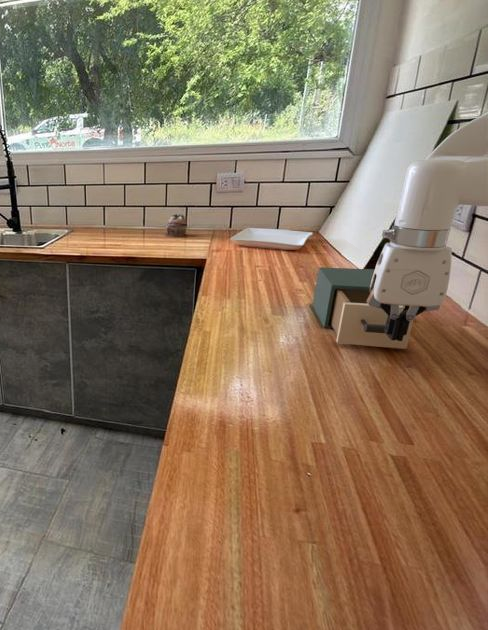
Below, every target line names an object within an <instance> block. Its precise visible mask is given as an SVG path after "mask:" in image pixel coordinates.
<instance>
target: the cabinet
mask: <svg viewBox="0 0 488 630" xmlns="http://www.w3.org/2000/svg"><path fill="white" fill-rule="evenodd" d="M374 270H375V268H374V269H373V268H347V267H326V266H325V267H323V266H322V267H321V266H319V267H318V270H317V275H316V280H315V286H314V293H313V298H312V305H311V306H312V308H313V309H314V312H315V313H316V316H317V317H318V319H319V321H320V323H321V325H322V326H323V328H325V329H334V328H333V327H332V325H331V323H330V321H329V319H330V314H331V308H332V303H333V298H334V292H335V289H352V290H370V285H371V280H372V277H373V273H374Z"/></svg>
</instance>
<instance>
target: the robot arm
mask: <svg viewBox="0 0 488 630" xmlns="http://www.w3.org/2000/svg"><path fill="white" fill-rule="evenodd" d="M486 155H488V111H486V112H485V113H483V114H482V115H479V116H478V117H476V118H474V119H472V120H471V121H469V122H467V123H465V124H464V125H462V126H461V127H459V128H457V129H456V130H455V131H453V132H452V133H451V134H449V135H448V136H447V137H445V138H444V139H443V140H442V141H441V142H440V143H439V144H438V145H437V146H436V147H435V149H433V150H432V151H431V152H430V153H429V155H427V157H426V158H425V159H420V160H415V161H413V162H412V163H410V164H409V165H408V167H407V169H406V172H405V175H404V180H403V185H402V189H401V194H400V198H399V202H398V207H397V211H396V215H395V219H394V225H392V227H391V229H390V228H389V229H383V231H382V233H381V236H382V238H383V239H388V240H389V242H386V243H385V244H384V246H383V248H382V250H381V252H380V254H379V257H378V259H377V262H376V264H375V268H374V269H375V270H374V273H373V277H372V280H371V285H370V295H369V297H368V299H367V303H368V304H369V305H370V306H373V307H377V308H381V309H383V310H384V311H385V312H386V314H387V315H388V316H387V321H386V325H385V329H384V332H385V333H386V335H387V336H388V337H389V338H390V340H393V341H395V340H398V341H402V340H403V336H404V335H406V334H407V331H408V327H409V323H410V321H412V320H413V319H414V320H415V318H416V317H417V316H419V315H420V314H422V313H424V312H432V311H433V312H434V311H439V310H440V309H441V305H443V304H444V302H445V300H446V297H447V293H448V287H449V283H450V278H451V277H450V276H451V270H452V257H453V256H452V255H453V254H452V253H453V249H452V248H451V247H449V246H448V245H447V244H448V240H449V236H450V232H451V229H452V226H453V222H454V218H455V215H456V210H457V207H458V206H460V205H463V206H473V207H488V156H486ZM399 305H404V306H403V308H402V310H401V313H400V315H399Z"/></svg>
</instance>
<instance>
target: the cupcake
mask: <svg viewBox="0 0 488 630" xmlns="http://www.w3.org/2000/svg"><path fill="white" fill-rule="evenodd" d="M165 226H166V228H165V229H166V235H167V237H171V238H182V237H185V236H186V232H187V228H188V220H187V219H186V216H185V215H184V214H179V215H178V214H177V213H175V214H172V215H171V217H170V219H168V221H167V223H166V224H165Z"/></svg>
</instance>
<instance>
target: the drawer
mask: <svg viewBox="0 0 488 630" xmlns="http://www.w3.org/2000/svg"><path fill="white" fill-rule="evenodd" d="M369 295H370V290H352V289H335V292H334V298H333V303H332V308H331V314H330V319H329V321H330V323H331V325H332V327H333V328H332V329H333V330H334V332H335V334H336V340H335V341H336V344H341V345H354V346H367V347H378V348H390V349H401V350H407V348H408V344H409V340H410V336H411V332H412V329H413V325H414V320H415V318H414V319H413V320H412V321H410V323H409V327H408V331H407V334H406V335H404V336H403V340H402V341H398V340H395V341H393V340H390V338H389V337H388V336H387V335H386V333H385V332H384V329H385V325H386V321H387V316H388V315H387V314H386V312H385V311H384V310H383V309H381V308H377V307H373V306H370V305H369V304H368V303H367V299H368V297H369ZM403 306H404V305H399V315H400V313H401V310H402V308H403Z"/></svg>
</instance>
